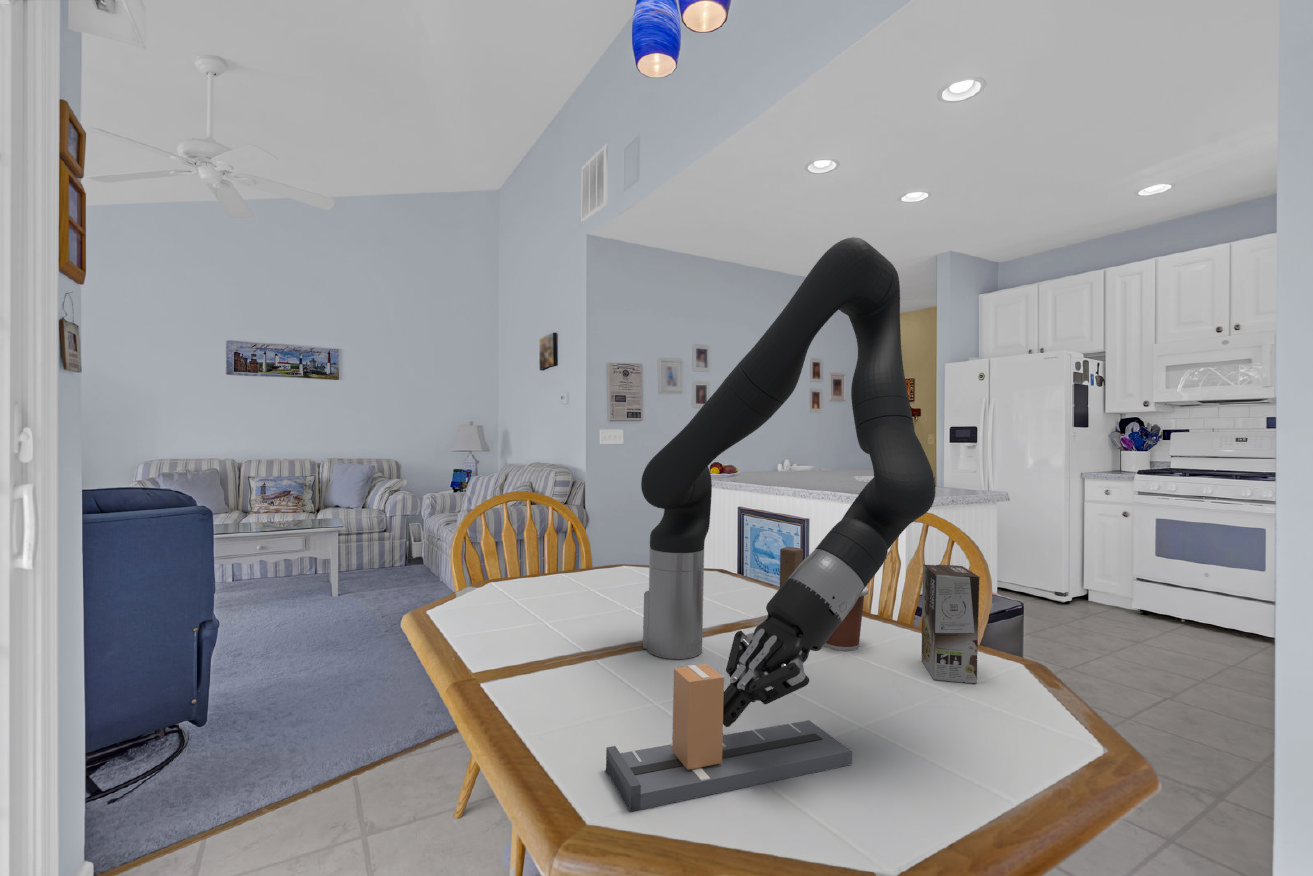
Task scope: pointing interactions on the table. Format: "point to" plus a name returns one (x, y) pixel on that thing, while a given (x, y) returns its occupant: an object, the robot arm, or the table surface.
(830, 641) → the coffee cup
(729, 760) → the fader rail
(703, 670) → the fader tab
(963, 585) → the coffee box
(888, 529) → the robot arm
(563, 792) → the table surface
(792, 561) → the wooden block
